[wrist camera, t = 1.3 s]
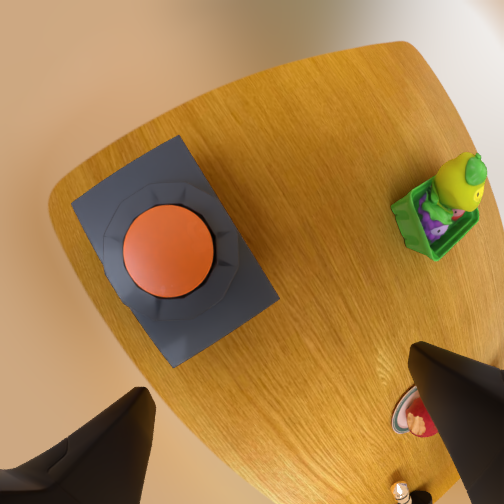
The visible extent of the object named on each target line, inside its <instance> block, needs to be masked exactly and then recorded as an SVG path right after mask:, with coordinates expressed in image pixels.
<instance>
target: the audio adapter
mask: <svg viewBox="0 0 504 504" xmlns="http://www.w3.org/2000/svg"><path fill="white" fill-rule="evenodd" d="M391 492H392V495H393V497H394V500H395V502H396V504H432V496H431V494H430V493H428V492H426V491H413V492H411V493H409V490H408V487H407V483H406V482H405V481H402V480H401V481H397V482H395V483H394V484H393V485H392V486H391Z"/></svg>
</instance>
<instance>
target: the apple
mask: <svg viewBox="0 0 504 504" xmlns="http://www.w3.org/2000/svg"><path fill="white" fill-rule="evenodd" d="M392 428H393V430H394V431H395V432H396V433H399V434H403V433H406V432H409V431H410V432H411V433H412V434H414V435H416V436H418V437H429V436H432V435H435V434H436V433H438V430H437V428H436V426H435V424H434V423H433V421H432V419H431V417H430V415H429V413H428V411H427V410H426V408H425V406H424V404H423V402H422V400H421V397H420V395H419V392H418V390H417V387H416V386H414V387H413V388H412V389H410V390H409V391H408V392H407V393H406V394H405V396H404V397H403V398H402V399H401V401H400V402H399V404H398V406H397V407H396V409H395V412H394V414H393V418H392Z"/></svg>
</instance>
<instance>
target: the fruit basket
mask: <svg viewBox="0 0 504 504" xmlns="http://www.w3.org/2000/svg"><path fill="white" fill-rule="evenodd" d="M486 177H487V168H486V166H485V164H484V163H483V162H482V161H481V155H479V154H478V153H476V155H474V154H472V153H469V152H464V153H462V154H460V155H459V156H458V157H457V158H455V159H452V160H449V161H447V162H446V163H445V164H443V165H442V166H441V167H440V169H439V170H438V172H437V175H435V176H433V177H432V178H430V179H429V180H427V181H426V182H424V183H422V184H421V185H419V186H417V187H416V188H414V189H413V190H411V191H410V192H409V193H408V194H407V195H406V196H405V197H403V198H402V199H400V200H398V201H397V202H395V203H394V204H392V205H391V210H392V212H393V213H394V214H395V218H396V222H397V224H398V227H399V229H400V232H401V234H402V236H403V238H405V245H406V247H407V248H410V249H412V250H414V251H417V252H419V253H422V254H424V255H426V256H428V257H429V258H430V259H432V260H434V261H439V260H440V259H441V258H442V257H443V256H444V255H445V254H446V253H447V252H448V251H449V250H450V249H451V248H452V247H453V246H454V245H455V244H456V243H457V242H459V241H460V239H462V238H463V237H464V236H465V234H466V233H467V232H468V231H469V230H470V229H471V228H472V227H473V226H474V225H475V224H476V223H477V222H478V221H479V211H478V205H479V204H480V202H481V198H482V195H483V191H484V184H485V180H486Z"/></svg>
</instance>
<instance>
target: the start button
mask: <svg viewBox="0 0 504 504" xmlns="http://www.w3.org/2000/svg"><path fill="white" fill-rule="evenodd" d="M123 257H124V263H125V266H126V269H127V271H128V273H129V275H130V277H131V278H132V279H133V281H134V282H135V283H136V284H137V285H138V286H139V287H140V288H142V289H143V290H144V291H146V292H148V293H150V294H152V295H155V296H159V297H177V296H181V295H184V294H187V293H189V292H190V291H192V290H194V289H195V288H196V287H197V286H199V285H200V284H201V283H202V281H203V280H204V279H205V277H206V276H207V274H208V272H209V270H210V268H211V264H212V261H213V242H212V238H211V235H210V232H209V230H208V228H207V226H206V225H205V224H204V222H203V221H202V220H201V219H200V218H199V217H198V216H197V215H196V214H195V213H193V212H191V211H190V210H188V209H186V208H183V207H180V206H175V205H161V206H157V207H153V208H151V209H149V210H147V211H145V212H143V213H142V214H141V215H139V216H138V217H137V218H136V219H135V220H134V222H133V223H132V224H131V226H130V228H129V229H128V231H127V234H126V236H125V240H124V245H123Z"/></svg>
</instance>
